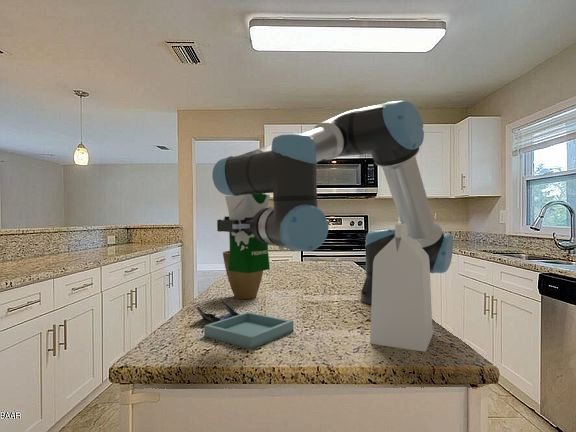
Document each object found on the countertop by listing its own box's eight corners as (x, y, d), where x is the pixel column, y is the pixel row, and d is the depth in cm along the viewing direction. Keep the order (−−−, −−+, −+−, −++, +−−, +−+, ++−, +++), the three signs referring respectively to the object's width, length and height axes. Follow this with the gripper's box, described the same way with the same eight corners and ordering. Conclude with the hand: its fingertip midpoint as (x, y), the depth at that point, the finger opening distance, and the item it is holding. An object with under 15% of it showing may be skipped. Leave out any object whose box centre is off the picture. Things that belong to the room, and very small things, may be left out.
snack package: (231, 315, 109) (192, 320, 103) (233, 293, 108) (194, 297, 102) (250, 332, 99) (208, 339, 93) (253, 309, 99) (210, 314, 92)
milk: (383, 328, 93) (381, 223, 93) (432, 334, 88) (431, 223, 88) (370, 343, 83) (368, 224, 83) (425, 351, 77) (424, 224, 77)
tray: (293, 331, 92) (293, 320, 92) (251, 349, 80) (251, 337, 80) (248, 321, 101) (248, 311, 101) (204, 336, 89) (204, 325, 89)
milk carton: (249, 274, 84) (247, 184, 84) (222, 271, 90) (220, 186, 90) (275, 269, 91) (273, 186, 91) (248, 266, 97) (246, 188, 96)
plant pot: (270, 292, 137) (269, 248, 137) (261, 302, 123) (260, 253, 123) (230, 292, 139) (230, 248, 139) (217, 301, 125) (216, 252, 125)
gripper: (220, 248, 70) (199, 240, 90) (324, 242, 78) (283, 236, 99) (219, 207, 69) (198, 209, 90) (324, 206, 78) (282, 208, 99)
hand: (242, 223), depth 94 cm, fingers closed on milk carton, 9 cm apart
